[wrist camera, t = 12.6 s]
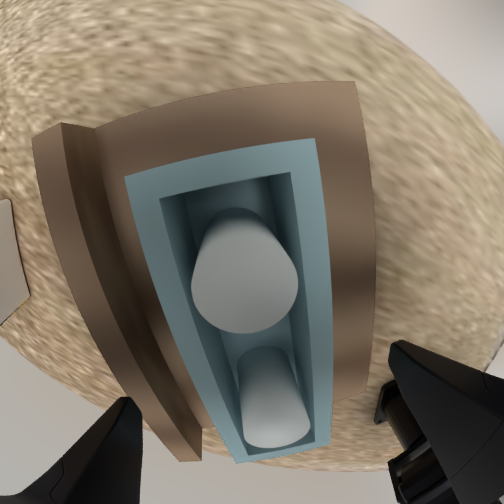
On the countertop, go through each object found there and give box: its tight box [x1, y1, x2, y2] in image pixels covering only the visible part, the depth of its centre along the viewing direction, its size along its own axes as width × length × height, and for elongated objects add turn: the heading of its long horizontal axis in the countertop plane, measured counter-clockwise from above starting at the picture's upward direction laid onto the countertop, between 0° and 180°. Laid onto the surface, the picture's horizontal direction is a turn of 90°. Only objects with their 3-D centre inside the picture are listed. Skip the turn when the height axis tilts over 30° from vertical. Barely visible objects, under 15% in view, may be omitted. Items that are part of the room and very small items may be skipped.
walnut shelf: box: [32, 81, 376, 462], centre depth 13 cm, size 20×14×5 cm
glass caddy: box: [124, 138, 333, 463], centre depth 11 cm, size 14×5×6 cm, turn 10°
